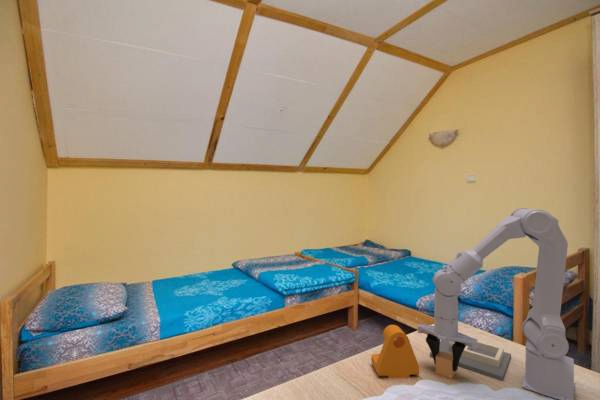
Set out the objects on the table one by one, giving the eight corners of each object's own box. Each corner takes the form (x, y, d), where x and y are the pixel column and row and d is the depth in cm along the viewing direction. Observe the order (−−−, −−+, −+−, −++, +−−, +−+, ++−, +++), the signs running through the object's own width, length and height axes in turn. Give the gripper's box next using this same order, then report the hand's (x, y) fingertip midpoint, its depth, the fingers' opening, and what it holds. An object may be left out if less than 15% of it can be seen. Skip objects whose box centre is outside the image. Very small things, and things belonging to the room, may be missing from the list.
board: (511, 357, 89) (511, 342, 89) (502, 380, 78) (502, 363, 78) (445, 338, 101) (445, 324, 101) (429, 356, 90) (429, 341, 90)
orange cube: (456, 372, 82) (456, 355, 82) (451, 378, 79) (451, 361, 79) (440, 366, 85) (440, 350, 85) (435, 372, 82) (435, 356, 82)
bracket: (407, 362, 87) (407, 320, 87) (419, 377, 80) (419, 331, 80) (370, 363, 86) (370, 321, 86) (378, 378, 79) (378, 332, 79)
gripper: (413, 313, 83) (413, 362, 84) (473, 328, 74) (472, 384, 74) (422, 306, 89) (422, 352, 89) (479, 319, 79) (479, 371, 79)
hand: (445, 366), depth 82 cm, fingers closed on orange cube, 4 cm apart
